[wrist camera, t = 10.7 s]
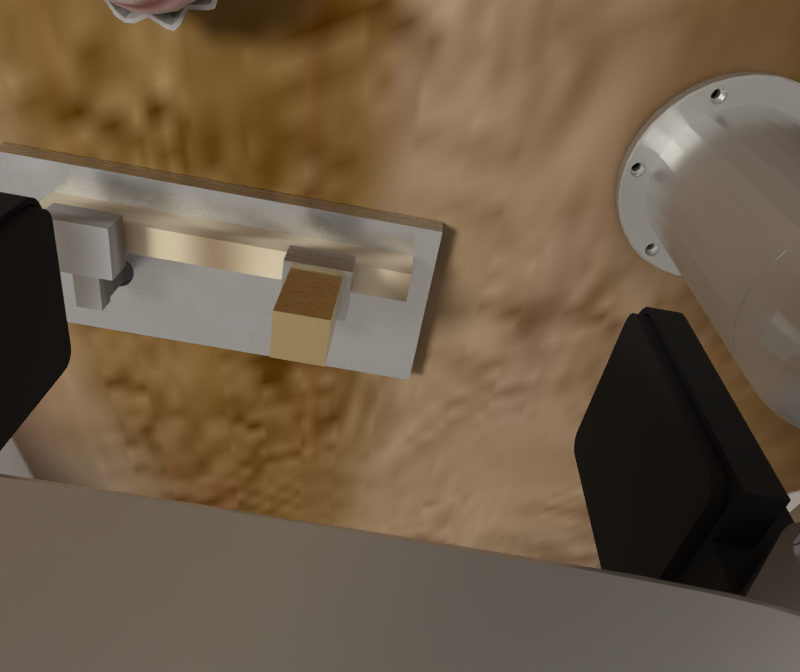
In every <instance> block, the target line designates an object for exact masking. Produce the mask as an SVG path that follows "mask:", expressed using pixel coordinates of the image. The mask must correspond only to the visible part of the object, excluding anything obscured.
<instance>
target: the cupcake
mask: <svg viewBox="0 0 800 672" xmlns="http://www.w3.org/2000/svg"><path fill="white" fill-rule="evenodd" d="M105 2H106V3H107V5H108V6H109V7H110V9H111V10H112V12H113V13H114V15H115V16H116V17H118V18H119V19H120V20H122V21H123V22H125V23H136V22H138V21H140V20H143V19H145V18H147V17H148V18H150V19H152V20H153V21H155V22H157V23H158V24H160V25H161V26H163V27H165V28H166V29H169V30H173V31H174V30H175V29H177V28H178V27H179V26H180V24H181V22H182V20H183V18H184V17H185V15H186V13H187V11H188V9H191V10H211V9H214V8H215V7H216V4H217V0H105Z"/></svg>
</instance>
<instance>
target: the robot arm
mask: <svg viewBox="0 0 800 672" xmlns="http://www.w3.org/2000/svg"><path fill="white" fill-rule="evenodd" d="M716 89H718V92H717V94H716V95H715V96H713V97H711V94H712V93H713V91H714V90H716ZM636 163H639V165H638V167H636V168H632V166H633V165H634V164H636ZM616 209H617V214H618V219H619V223H620V225H621V227H622V229H623V231H624V234H625V236H626V238H627V239H628V241H629V242H630V244H631V246H632V247H633V249H634V250H635V251H636V252H637V253H638V254H639V255H640V256H641V257H642V258H643V259H644V260H645V261H647V262H648V263H650V264H651V265H653V266H654V267H656V268H657V269H659V270H662V271H664V272H667V273H669V274H672V275H675V276H680V277H683V279H684V280H685V282H686V283H687V285H688V287H689V288H690V290H691V291H692V293H693V295H694V296H695V298H696V299H697V301H698V303H699V304H700V306H701V307H702V309H703V311H704V312H705V314H706V315H707V317H708V318H709V320H710V322H711V323H712V325H713V326H714V328H715V330H716V331H717V333H718V334H719V336H720V338H721V339H722V341H723V342H724V344H725V345H726V347H727V349H728V350H729V352H730V353H731V355H732V357H733V358H734V360H735V361H736V363H737V365H738V366H739V368H740V369H741V371H742V372H743V374H744V376H745V377H746V378H747V380H748V381H749V383H750V385H751V386H752V388H753V389H754V390H755V392H756V393H757V395H758V396H759V397H760V398H761V400H762V401H763V402H764V403H765V404H766V405H767V406H768V407H769V408H770V409H771V410H772V411H773V412H774V413H776V414H777V415H778V416H779V417H781V418H782V419H783V420H785V421H786V422H788V423H790V424H791V425H793V426H795V427H796V428H798V429H800V83H799V82H797V81H794V80H792V79H790V78H788V77H785V76H782V75H777V74H772V73H767V72H737V73H732V74H727V75H722V76H717V77H715V78H712V79H709V80H707V81H704V82H702V83H699V84H696V85H694V86H692V87H691V88H689V89H687V90H686V91H684V92H682V93H680V94H679V95H677V96H675V97H674V98H672V99H671V100H670V101H669V102H668V103H666V104H665V105H664V106H663V107H661V108H660V109H659V110H658V111H656V112H655V113H654V115H653V116H652V117H651V118H650V119H649V120H648V121H647V122H646V123H645V125H644V126H643V127H642V128H641V129H640V130H639V132H638V133H637V135H636V137H635V138H634V140H633V141H632V143H631V144H630V146H629V147H628V150H627V152H626V154H625V157H624V159H623V161H622V164H621V166H620V170H619V174H618V179H617V183H616ZM650 244H652V245H651V246H649V247H647V246H648V245H650ZM70 356H71V345H70V338H69V331H68V324H67V317H66V310H65V303H64V296H63V289H62V282H61V275H60V268H59V261H58V254H57V247H56V240H55V233H54V226H53V220H52V216H51V214H50V212H49V211H48V210H47V209H42V207H41V205H40V203H39V201H38V200H36V199H35V198H32V197H26V196H21V195H15V194H9V193H4V192H0V451H1V449H2V448H3V447H4V446H5V444H6V443H7V442H8V440H9V439H10V438H11V437H12V436H13V434H14V433H15V432H16V431H17V429H18V428H19V427H20V426H21V424H22V423H23V422H24V421H25V419H26V418H27V417H28V416H29V414H30V413H31V412H32V411H33V409H34V408H35V407H36V406H37V404H38V403H39V402H40V401H41V399H42V398H43V397H44V396H45V394H46V393H47V392H48V391H49V390H50V388H51V387H52V386H53V385H54V383H55V382H56V381H57V380H58V378H59V377H60V376H61V375H62V373H63V372H64V371H65V369H66V368H67V366H68V363H69V360H70ZM574 453H575V458H576V462H577V467H578V471H579V475H580V479H581V484H582V488H583V492H584V496H585V501H586V505H587V509H588V513H589V518H590V522H591V526H592V530H593V535H594V539H595V543H596V547H597V552H598V556H599V560H600V565H601V569H597V568H591V567H585V566H579V565H573V564H567V563H561V562H555V561H549V560H543V559H537V558H531V557H525V556H518V555H512V554H506V553H500V552H494V551H488V550H482V549H475V548H469V547H463V546H457V545H451V544H445V543H439V542H433V541H426V540H420V539H414V538H408V537H402V536H396V535H390V534H384V533H377V532H371V531H365V530H359V529H352V528H346V527H340V526H333V525H327V524H321V523H314V522H308V521H302V520H296V519H289V518H283V517H277V516H270V515H264V514H258V513H251V512H245V511H238V510H232V509H226V508H219V507H213V506H207V505H200V504H194V503H187V502H181V501H175V500H168V499H162V498H155V497H149V496H143V495H136V494H129V493H123V492H116V491H110V490H103V489H97V488H90V487H83V486H77V485H70V484H64V483H57V482H50V481H44V480H37V479H31V478H24V477H17V476H10V475H4V474H0V672H800V504H799V505H798V506H797V507H796V508H795V509H793V510H792V511H791V512H790V513H789V512H788V510H787V508H786V506H787V505H788V503H789V502H790V498H789V496H788V495H787V493H786V491H785V489H784V488H783V486H782V484H781V483H780V481H779V479H778V477H777V476H776V474H775V472H774V470H773V469H772V467H771V465H770V463H769V462H768V460H767V458H766V456H765V455H764V453H763V451H762V450H761V448H760V446H759V444H758V443H757V441H756V439H755V437H754V436H753V434H752V432H751V430H750V429H749V427H748V425H747V423H746V422H745V420H744V418H743V417H742V415H741V413H740V411H739V410H738V408H737V406H736V404H735V403H734V401H733V399H732V397H731V396H730V394H729V392H728V390H727V389H726V387H725V385H724V384H723V382H722V380H721V378H720V377H719V375H718V373H717V371H716V370H715V368H714V366H713V364H712V363H711V361H710V359H709V357H708V356H707V354H706V352H705V351H704V349H703V347H702V345H701V344H700V342H699V340H698V338H697V337H696V335H695V333H694V331H693V330H692V328H691V326H690V324H689V323H688V321H687V319H686V318H685V316H684V315H683V314H682V313H678V312H673V311H667V310H662V309H656V308H650V307H645V308H643V309H642V310H641V312H640V313H639V314H634V313H632V314H630V315H629V317H628V318H627V320H626V322H625V324H624V326H623V328H622V331H621V333H620V335H619V338H618V340H617V342H616V344H615V347H614V349H613V351H612V354H611V356H610V358H609V360H608V363H607V365H606V367H605V370H604V372H603V374H602V376H601V379H600V381H599V383H598V386H597V388H596V390H595V392H594V395H593V397H592V399H591V402H590V404H589V406H588V409H587V411H586V413H585V415H584V418H583V420H582V422H581V425H580V427H579V429H578V431H577V434H576V438H575V444H574Z"/></svg>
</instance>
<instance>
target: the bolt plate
mask: <svg viewBox="0 0 800 672" xmlns="http://www.w3.org/2000/svg"><path fill="white" fill-rule="evenodd" d="M53 191H55V192H60V193H66V194H71V195H77V196H83V197H88V198H94V199H99V200H105V201H110V202H116V203H122V204H127V205H133V206H138V207H144V208H149V209H155V210H161V211H166V212H172V213H177V214H183V215H188V216H194V217H200V218H205V219H211V220H216V221H222V222H227V223H233V224H239V225H244V226H250V227H255V228H261V229H266V230H272V231H278V232H283V233H289V234H294V235H300V236H305V237H311V238H317V239H322V240H328V241H333V242H339V243H344V244H350V245H356V246H361V247H367V248H372V249H378V250H383V251H389V252H394V253H400V254H406V255H411V256H413V267H412V276H411V281H410V286H409V291H408V296H407V301H406V302H404V301H398V300H392V299H387V298H381V297H375V296H370V295H364V294H358V293H353V292H351V296H350V303H349V307H348V312H347V316H346V320H345V321H341V320H337V321H336V325H335V329H334V333H333V337H332V341H331V344H330V348H329V352H328V356H327V360H326V364H325V366H330V367H336V368H342V369H348V370H354V371H360V372H365V373H371V374H377V375H383V376H389V377H395V378H401V379H407V380H409V378H410V374H411V369H412V365H413V360H414V356H415V352H416V347H417V343H418V338H419V334H420V330H421V325H422V321H423V316H424V312H425V308H426V303H427V299H428V294H429V290H430V285H431V281H432V277H433V272H434V268H435V263H436V259H437V255H438V250H439V246H440V241H441V237H442V233H443V222H439V221H433V220H428V219H422V218H417V217H411V216H406V215H400V214H395V213H389V212H384V211H378V210H373V209H367V208H362V207H356V206H351V205H345V204H340V203H334V202H329V201H323V200H318V199H312V198H307V197H302V196H296V195H291V194H285V193H280V192H274V191H269V190H263V189H258V188H252V187H247V186H241V185H236V184H230V183H225V182H219V181H214V180H208V179H203V178H197V177H192V176H186V175H181V174H175V173H170V172H165V171H159V170H154V169H148V168H143V167H137V166H132V165H126V164H121V163H115V162H110V161H104V160H99V159H93V158H88V157H82V156H77V155H71V154H66V153H60V152H55V151H49V150H44V149H38V148H33V147H27V146H22V145H17V144H11V143H6V142H5V143H3V144H1V145H0V192H4V193H9V194H15V195H21V196H26V197H32V198H35V199H36V200H38V201H39V202H40V201H41V200H42V199H44V198H45V197H46V196H48V195H49V194H50V193H52V192H53ZM125 256H126V266H125V267H124V268H123V269H124V281H123V282H122V284H121V285H120V286H119V287H118V288H117V290H116V291H115V292H114V293H113V294H112V296H111V297H110V302H109V303H108V305H107V306H106V307H105V308H104V310H103V311H100V310H94V309H88V308H82V307H77V305H76V297H75V290H74V282H73V274H71V273H65V272H60V275H61V282H62V289H63V296H64V303H65V310H66V317H67V322H72V323H77V324H83V325H89V326H95V327H101V328H107V329H113V330H119V331H125V332H130V333H136V334H142V335H148V336H154V337H160V338H166V339H172V340H177V341H183V342H189V343H195V344H201V345H207V346H213V347H219V348H224V349H230V350H236V351H242V352H248V353H254V354H260V355H266V356H270V344H271V329H272V315H273V309H274V306H275V304H276V302H277V299H278V297H279V294H280V292H281V285H282V280H279V279H273V278H267V277H262V276H256V275H250V274H245V273H239V272H233V271H228V270H222V269H216V268H211V267H205V266H199V265H194V264H188V263H182V262H176V261H171V260H165V259H159V258H154V257H148V256H142V255H137V254H131V253H125Z"/></svg>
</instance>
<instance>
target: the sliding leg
mask: <svg viewBox="0 0 800 672" xmlns="http://www.w3.org/2000/svg"><path fill="white" fill-rule="evenodd" d="M355 262H356V256H350V255H345V254H339V253H334V252H328V251H322V250H317V249H311V248H306V247H300V246H294V245H290V246H289V249H288V251H287V253H286V255H285V258H284V260H283V272H282V285H281V292H280V294H279V297H278V299H277V302H276V304H275V306H274V309H273V315H272V329H271V344H270V357H272V358H278V359H284V360H289V361H295V362H301V363H307V364H313V365H319V366H325V364H326V360H327V356H328V352H329V348H330V344H331V341H332V337H333V333H334V329H335V325H336V321H337V320H341V321H345V320H346V316H347V312H348V307H349V303H350V296H351V289H352V282H353V276H354V269H355Z"/></svg>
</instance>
